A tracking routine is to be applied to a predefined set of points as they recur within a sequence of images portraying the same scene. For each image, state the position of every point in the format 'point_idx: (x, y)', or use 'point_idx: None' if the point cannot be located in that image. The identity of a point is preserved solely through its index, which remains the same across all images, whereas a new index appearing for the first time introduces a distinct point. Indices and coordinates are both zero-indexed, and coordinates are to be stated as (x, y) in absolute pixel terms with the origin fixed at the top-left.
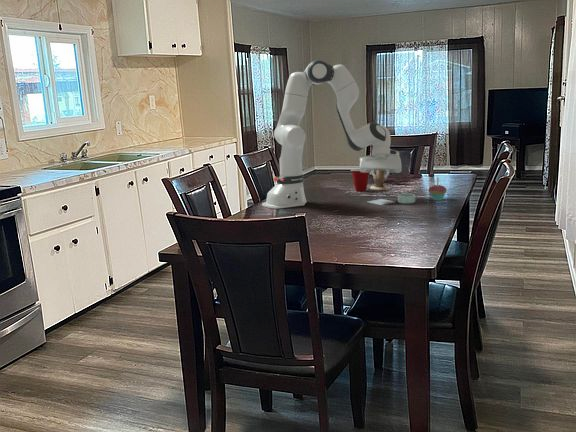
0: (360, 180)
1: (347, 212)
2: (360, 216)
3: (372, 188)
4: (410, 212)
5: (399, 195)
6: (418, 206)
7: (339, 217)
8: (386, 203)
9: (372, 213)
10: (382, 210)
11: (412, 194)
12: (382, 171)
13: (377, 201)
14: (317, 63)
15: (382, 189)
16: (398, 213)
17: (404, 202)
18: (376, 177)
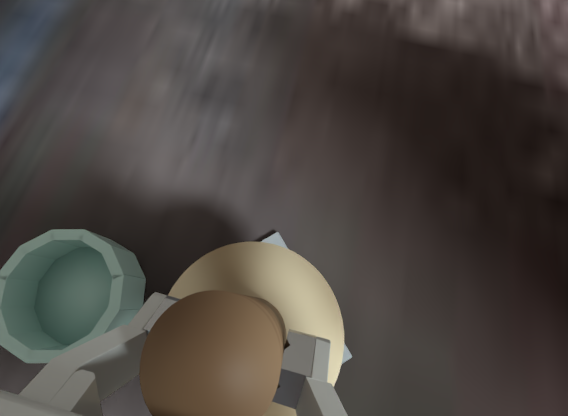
0: None
1: (484, 116)
2: (421, 28)
3: (331, 290)
4: (170, 48)
5: (111, 292)
6: (74, 160)
7: (522, 31)
8: None
9: (356, 68)
10: (293, 116)
11: (1, 309)
12: (186, 299)
13: None
14: None
15: (247, 243)
16: (232, 42)
17: (116, 243)
18: (283, 342)
